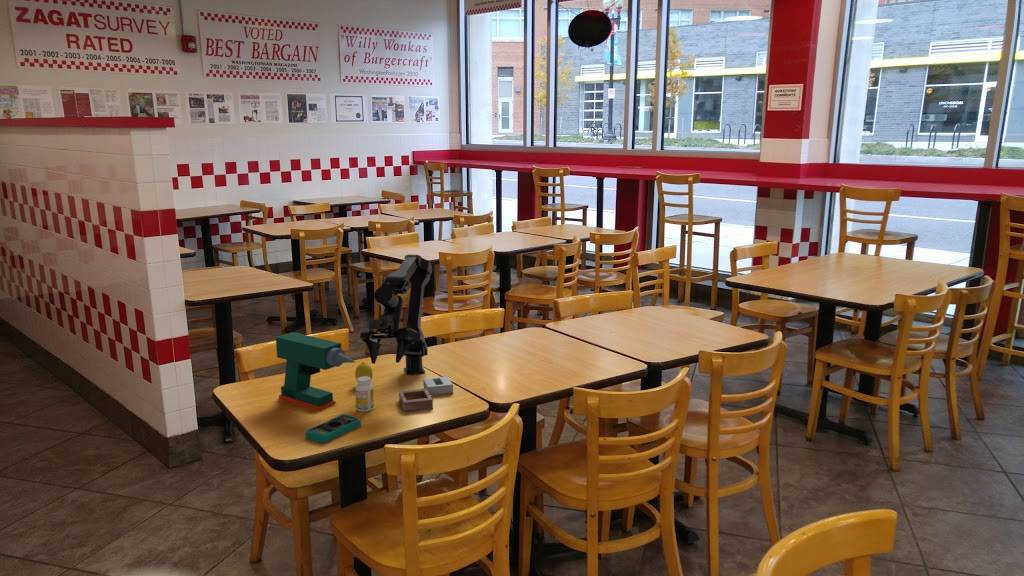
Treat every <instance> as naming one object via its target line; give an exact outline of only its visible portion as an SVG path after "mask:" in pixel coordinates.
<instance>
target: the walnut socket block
mask: <svg viewBox="0 0 1024 576" xmlns="http://www.w3.org/2000/svg"><path fill="white" fill-rule="evenodd" d="M398 400H399V403H400V406H401V408H402V410H403V412H404V413H410V412H419V411H426V410H428V409H429V410H433V409H434V405H433V403H434V400H433V398H432V396H430V394H429V392H428V391H427V389H424V388H416V389H409V390H402V391H401V390H400V391H398Z"/></svg>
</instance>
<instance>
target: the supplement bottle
mask: <svg viewBox="0 0 1024 576" xmlns="http://www.w3.org/2000/svg"><path fill="white" fill-rule="evenodd" d="M356 382H357V384H356V385H355V389H354V391H355V392H354V393H355V395H354V396H355V409H356V410H357V411H358V412H360V413H361V412H362V413H364V412H365V413H366V412H370V411H373V410H374V408H375V397H374V396H375V395H374V394H375V393H374V385H373V384H372V383H371V382H372V379H371V378H370V377H368V376H362V377H358V378H357V380H356Z"/></svg>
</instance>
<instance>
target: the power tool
mask: <svg viewBox="0 0 1024 576" xmlns="http://www.w3.org/2000/svg"><path fill="white" fill-rule="evenodd" d="M275 346H276V357H277V358H279V359H282V360H286V362H285V363H286V364H285V374H284V382H283V385H281V386H280V392H281V394H278V398H279V399H280V400H283V401H286V402H289V403H293V404H295V405H298V406H302V407H306V408H308V409H312V410H315V411H318V412H319V411H320V412H321V411H323V410H325V409H328V408H330V407H333V406H335V405H337V404H336V403H337V401H336V400H334V395H333V392H331V391H329V390H324V389H320V388H317V387H313V386H311V378H312V375H315V374H318V373H321V370H324V371H326V370H329V369H332V368H335V367H336V368H337V367H340V366H342V365H343V364H349V363H352V364H353V363H356V360H354V359H352V358H351V357H349V356H347V355H346V353H345V351H344V350H343V349H342V343H341V342H337V341H333V340H328V339H324V338H320V337H315V336H312V335H307V334H302V333H299V332H298V333H297V332H294V331H293V332H289V333H286V334H282V335H277V336H275ZM334 404H335V405H334ZM332 405H333V406H332Z"/></svg>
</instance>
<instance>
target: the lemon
mask: <svg viewBox="0 0 1024 576" xmlns="http://www.w3.org/2000/svg"><path fill="white" fill-rule="evenodd" d="M362 376H368V377H370V378H371V380H372V379H373V369H372V366H371V365H370V364H369V363H367V362H364V361H363V362H361V363H359V364H358V365H357V366H356V368H355V373H354V377H355V380H356V381H357V378H358V377H362Z"/></svg>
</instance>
